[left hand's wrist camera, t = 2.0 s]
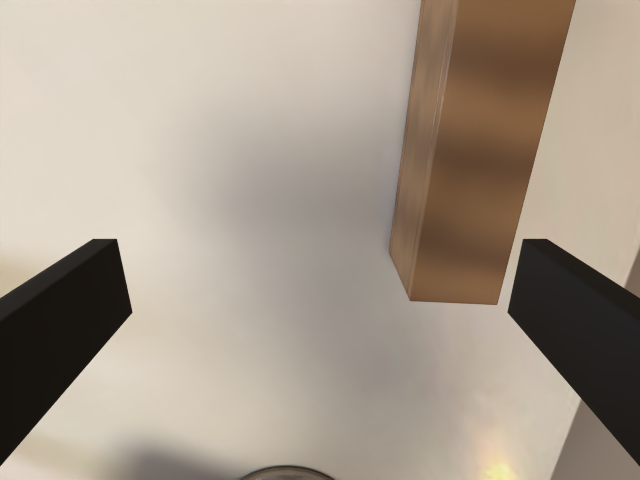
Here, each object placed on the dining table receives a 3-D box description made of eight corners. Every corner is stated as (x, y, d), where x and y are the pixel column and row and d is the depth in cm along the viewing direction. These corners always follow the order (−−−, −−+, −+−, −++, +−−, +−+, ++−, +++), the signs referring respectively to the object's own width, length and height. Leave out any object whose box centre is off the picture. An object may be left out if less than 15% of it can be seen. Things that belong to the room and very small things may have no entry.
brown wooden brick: (422, -11, 25) (466, -55, 18) (508, -5, 25) (588, -47, 18) (388, 253, 32) (409, 301, 25) (456, 256, 32) (497, 305, 25)
